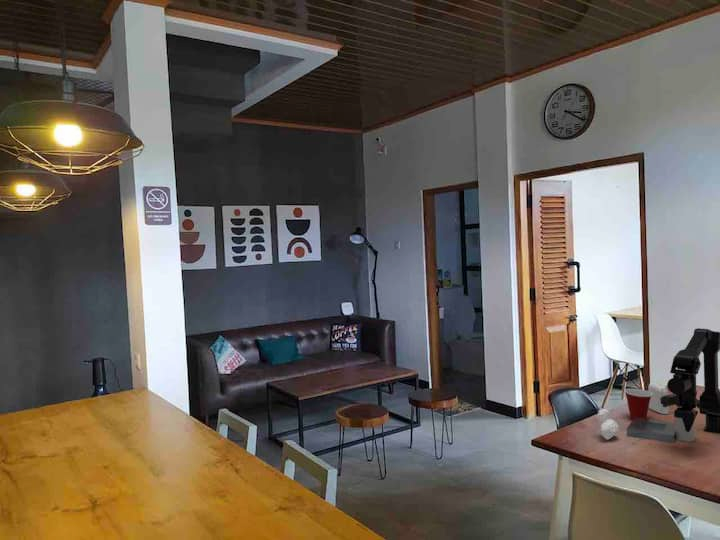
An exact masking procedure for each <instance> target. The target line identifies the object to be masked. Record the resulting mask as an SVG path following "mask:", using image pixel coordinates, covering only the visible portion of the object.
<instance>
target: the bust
mask: <svg viewBox="0 0 720 540" xmlns="http://www.w3.org/2000/svg"><path fill="white" fill-rule="evenodd" d="M610 415H611V413H610V412H609V410H608V409H606V408H602V409H600V410H599V409H598V411H597V415H596V420H598V421H600V428H599V429H600V433H601V435H602V437H603V438H604V439H605V440H610V439H611V438H612V437H614V436H616V435H617V434H619V431H620V428H619V425H618V423H617V422H616V421H615V420H614V419H611V418H609V416H610Z"/></svg>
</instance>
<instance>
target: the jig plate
mask: <svg viewBox="0 0 720 540" xmlns="http://www.w3.org/2000/svg"><path fill="white" fill-rule="evenodd" d="M626 437H631V438H637V439H645V440H649V441H650V440H651V441H657V442H663V443H671V444H672V443H675V441H676V431H675V422H671V421H665V420H657V419H648V418H646V419H644V418H637V417H635V418H634V419H633V420H631V422H630V423H629V425H628V426H627V427H626Z"/></svg>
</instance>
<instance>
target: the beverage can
mask: <svg viewBox="0 0 720 540" xmlns="http://www.w3.org/2000/svg"><path fill="white" fill-rule="evenodd" d="M674 423H675V431H676V439H677V440H678V441H680V442H690V443H691V442H694V441H696V440H695V439H696V433H695V431H696V430H695V427H696V426H695V422H694V423H693V425H692V427H691V429H690V432H686V430H685V426H684V423H683V420H682V418H677V417H674ZM676 439H675V440H676Z"/></svg>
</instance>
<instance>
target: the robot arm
mask: <svg viewBox="0 0 720 540" xmlns="http://www.w3.org/2000/svg"><path fill="white" fill-rule="evenodd" d="M719 352H720V331H715V330H714V331H713V330H711V329H709V328H699V327H698V328H695V329H693V335H692V336H691V338H690V340H689V341H688V343H687V345H686V347H685V348H684V349H680V350H679V351H678V352H677V353H676V354H675V356H673V359H672V363H671V367H670V374H672V378H670V379H669V380H668V381H667V382H666V383H667V384H666V388H667V389H668V392H670V393H671V394H668V395H665V396H662V397H661V398H660V400H661V404H662V405H663V407H667V406H670V407H671V406H676V408H674V411H673V417H674V418H675V417H677V418H682V420H683V423H684V426H685V430H686V432H690V429H691V427H692V425H693V423H694V424H695V419H697V417H698V416H697V415H698V414H700V415H705V416H704V417H705V419H704V420H705V425H704V427H703V431H704V432H710V433H715V432H716V434H720V389H719V364H718V363H719V362H718V361H719V360H718V359H719V357H718V355H719V354H718V353H719ZM701 354H703V355H702V356H703V377H704V378H703V380H704V381H703V383H704V385H703V386H704V390H703V392H701V394H700V396H699V399H698V398H697V395H698V390H697V375H698V374H699V371H700V368H701V364H702V362H701V360H700V355H701ZM696 408H697V409H699V410H695V409H696Z"/></svg>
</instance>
